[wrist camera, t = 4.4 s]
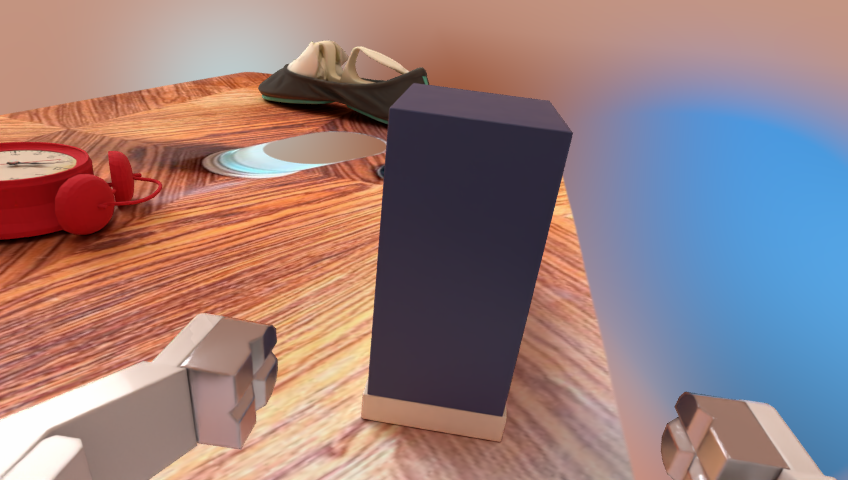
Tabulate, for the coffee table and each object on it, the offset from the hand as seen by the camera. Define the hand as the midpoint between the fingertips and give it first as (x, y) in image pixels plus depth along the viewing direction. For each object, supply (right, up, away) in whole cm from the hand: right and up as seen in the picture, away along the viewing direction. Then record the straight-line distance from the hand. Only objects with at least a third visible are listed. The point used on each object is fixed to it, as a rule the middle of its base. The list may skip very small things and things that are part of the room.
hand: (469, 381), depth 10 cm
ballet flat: (-14, +23, +68) cm, 73 cm away
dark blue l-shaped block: (0, -2, +19) cm, 19 cm away
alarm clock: (-29, +5, +26) cm, 39 cm away
